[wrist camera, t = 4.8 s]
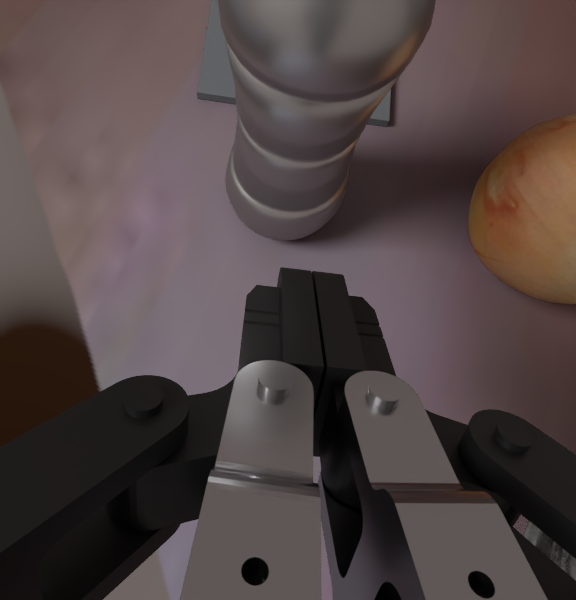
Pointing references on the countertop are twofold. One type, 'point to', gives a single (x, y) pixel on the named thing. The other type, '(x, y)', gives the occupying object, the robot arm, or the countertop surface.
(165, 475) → the robot arm
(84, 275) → the countertop surface
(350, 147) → the plastic bottle
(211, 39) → the mat
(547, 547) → the salt shaker
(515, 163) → the onion
